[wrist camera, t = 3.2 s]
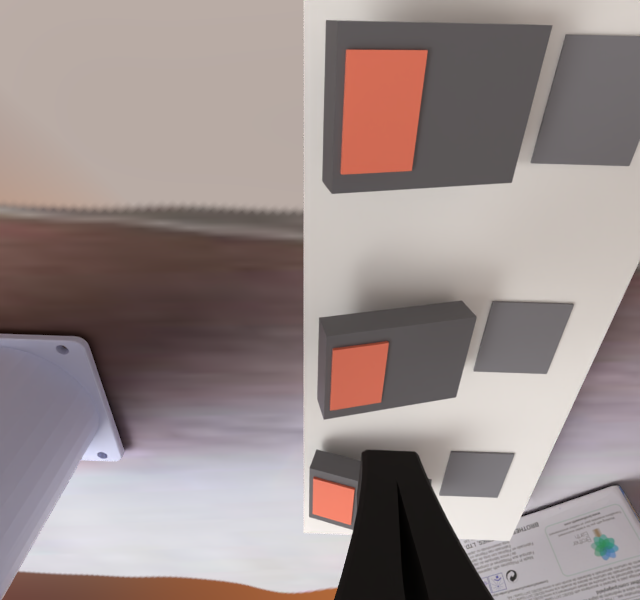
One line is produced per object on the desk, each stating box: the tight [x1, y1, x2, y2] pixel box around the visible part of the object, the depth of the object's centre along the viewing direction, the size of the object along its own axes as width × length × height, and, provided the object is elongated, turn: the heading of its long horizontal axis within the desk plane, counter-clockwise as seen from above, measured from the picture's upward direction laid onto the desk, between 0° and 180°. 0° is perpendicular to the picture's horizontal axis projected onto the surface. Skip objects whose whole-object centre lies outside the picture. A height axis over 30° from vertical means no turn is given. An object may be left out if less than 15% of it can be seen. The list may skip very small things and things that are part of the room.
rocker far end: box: [309, 449, 432, 530], centre depth 19 cm, size 5×4×1 cm
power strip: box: [304, 0, 640, 541], centre depth 16 cm, size 11×32×2 cm, turn 179°
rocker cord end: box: [322, 20, 553, 194], centre depth 11 cm, size 5×4×1 cm
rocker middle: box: [317, 300, 477, 420], centre depth 15 cm, size 5×4×1 cm
